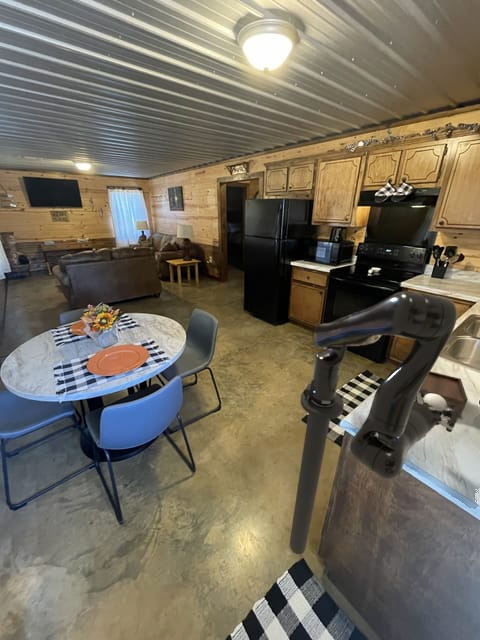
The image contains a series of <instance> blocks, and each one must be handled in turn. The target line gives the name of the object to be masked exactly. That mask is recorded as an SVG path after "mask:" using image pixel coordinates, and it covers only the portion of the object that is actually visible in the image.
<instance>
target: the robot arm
mask: <svg viewBox="0 0 480 640" xmlns="http://www.w3.org/2000/svg"><path fill="white" fill-rule="evenodd" d="M457 318H458V309H457V306H456V304H455V303H454V302H453V301H452V300H451V299H450V298H448V297H444V296H440V295H435V294H431V293H424V292H419V291H412V290H404V291H403V290H402V291H399V292H396V293H393V294H392V295H390V296H388V297H386V298H385V299H383V300H381V301H379V302H377V303H376V304H374V305H371V306H370V307H367V308H364V309H361V310H358V311H356V312H355V311H354V312H353V313H350V314H347V315H345V316H344V317H340V318H338V319H335V320H334V321H331V322H323V323H320V324H317V326H316V327H315V329H314V331H313V340H314V343H315V345H316V346H317V347H318V348H319V349H322V351H319V352H318V353H317V354H316V355H315V361H314V362H315V363H314V367H313V368H314V369H313V376H312V379H311V381H310V382H308V384H307V386H306V387H305V388H304V390H303V391H304V395H305V397H307V396H309V401H311V402H312V403H313V404H314V405H316V406H318V407H321V408H330V407H332V406H333V405H334V402H335V396H336V393H337V391H338V385H339V379H340V375H341V370H342V369H341V368H342V364H343V362H344V361H345V357H346V353H347V349H348V347H361V346H368V345H372V344H375V343H376V342H377V341H379V340H380V338H382V336H392V337H398V338H402V339H403V338H404V339H410V340H414V341H413V345H412V347H411V348H410V349H411V350H410V351H409V353H408V355H406V357H405V358H404V360H403V361H402V362H401V363H400V364H399V365H398V366H397V367H396V368H394V370H392V372H390V373H389V374H388V375H387V376H386V377H385V378H384V379H383V381H381V383H380V384H379V385H378V387H377V388H376V391H375V393H374V396H373V399H372V403H371V406H370V409H369V412H368V415H367V417H366V418H365V420H364V422H363V423H362V425H361V427H360V428H359V429H358V431H357V432H356V434H355V435H354V436H353V437H352V439H351V441H350V444H349V448H350V449H349V450H350V453H351V455H352V457H353V459H355V460H356V461H358V462H359V463H360V464H361V465H363V466H364V467H365V468H367V469H368V470H370V471H371V472H372V473H374V474H375V475H376V476H378V477H379V478H381V479H383V480H385V481H393V480H396V479H397V478H398V477H399V476H400V475H401V473H402V470H403V467H404V464H405V460H406V456H407V455H408V452H409V450H410V449H412V447H414V445H416V444H417V443H418V442H420V441H421V440H422V439H424V438H425V437H426V436H427V434H428V433H429V432H430V431H431V430H432V429H433V428H434V427H435V426H439V425H440V426H442V427H444V428H445V430H446V431H447V432H449V433H452V432H453V430H454V428H455V425H456V423H457V421H458V419H459V414H458V413H456V412H454V410H455V408H456V406H455V405H454V404H455V403H453V402H451V403H450V404H449V405H448V406H447V407H445V408H442V407H433V406H431V405H429V404H427V403H426V402H424V401H422V397H423V396H424V395H426V394H427V391H428V390H426V389H424V390H423V389H421V390H420V388H421V386H422V384H423V383H424V381H425V379H426V377H427V376H428V374H429V372H430V371H431V370H432V369H433V367H434V365H435V364H436V363H437V361H438V359H439V357H440V355H441V353H442V352H443V350H444V348H445V347H446V345H447V343H448V341H449V340H450V338H451V336H452V333H453V332H454V329H455V328H456V327H455V326H456V324H457ZM431 372H432V371H431ZM419 390H420V391H419ZM446 418H447V419H446ZM443 419H445V420H443ZM376 434H377V435H376Z"/></svg>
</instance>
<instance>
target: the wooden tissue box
mask: <svg viewBox="0 0 480 640" xmlns="http://www.w3.org/2000/svg"><path fill="white" fill-rule="evenodd" d="M462 381H463V380H462V378H459V377H455V376H450V375H447V374H443V373H439V372H435V371H430V372H429V374H428V376H427V377H426V379H425V381H424V383H423V384H422V386H421V388H420V390H421V389H423V390H424V389H426V390H428V391H427V394H430V393H432V394H437V395H440V396H441V397H442V398H444V399H445V401H446V403H447V406H448V405H449V404H450V403H451V402H453V403H455V404H454V405H455V406H456V408H455V410H454V412H456V413H458V414H459V417H458V419H460V418H461V416H462V414H463V412H464V410H465V408H466V406H467V403H468V401H469V399H468V396H467V392H466V390H465V388H464V387H465V386H464V384H463V382H462ZM420 390H419V391H420Z"/></svg>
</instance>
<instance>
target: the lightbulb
mask: <svg viewBox="0 0 480 640" xmlns="http://www.w3.org/2000/svg"><path fill="white" fill-rule="evenodd" d="M422 401H424V402H426V403H427V404H429V405H431V406H433V407H442V408H445V407H447V403H446V401H445V399H444V398H442V397H441V396H440V395H437V394H432V393H430V394H426V395H424V396H423V397H422Z"/></svg>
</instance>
